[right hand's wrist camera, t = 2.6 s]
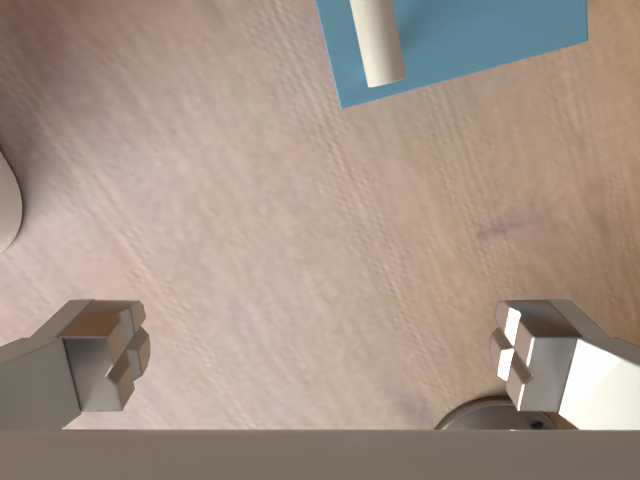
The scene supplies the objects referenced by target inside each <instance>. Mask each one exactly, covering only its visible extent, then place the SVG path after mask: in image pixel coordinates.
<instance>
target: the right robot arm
mask: <svg viewBox="0 0 640 480" xmlns="http://www.w3.org/2000/svg"><path fill="white" fill-rule="evenodd" d="M21 219H22V199H21V193H20V189H19V186H18V183H17V180H16V178H15V176H14V174H13V172H12V170H11V168H10V166H9V164H8V163H7V161H6V160H5V158H4V156H3V155H2V153H1V151H0V253H1V252H3V251H4V250H5V249H6V248H7V247H8V246H9V245H10V244H11V243H12V241H13V240H14V238H15V237H16V235H17V233H18V230H19V228H20V224H21ZM145 318H146V316H145V311H144V306H143V304H142V303H141V302H140V301H139V300H95V299H81V300H69V301H68V302H67V303H66V304H65V305H64V306H63V307H62V308H61V309H60V310H59V311H58V312H57V313H55V314H54V315H53V316H52V317H51V318H50V319H49V320H48V321H47V322H46V323H45V324H44V325H43V326H42V327H40V328H39V329H38V330H37V331H36V332H35V333H34V334H33V335H32V336H31V337H30V338H21V339H18V340H16V341H13V342H11V343H8V344H6V345H4V346H1V347H0V480H640V347H639V346H636V345H634V344H632V343H629V342H627V341H624V340H622V339H619V338H610V337H609V336H608V335H607V334H606V333H605V332H604V331H603V330H602V329H601V328H600V327H599V326H597V325H596V324H595V323H594V322H593V321H592V320H591V319H590V318H589V317H588V316H587V315H586V314H585V313H584V312H583V311H581V310H580V309H579V308H578V307H577V306H576V305H575V304H574V303H573V302H572V301H570V300H567V299H555V300H509V301H499V302H498V304H497V307H496V310H495V315H494V318H495V320H496V321H497V323H498V325H499V327H498V328H497V329H496V330H495V331H494V332H493V333H492V334H491V340H490V358H491V362H492V365H493V368H494V370H495V372H496V374H497V375H498V376H499V377H501V378H503V379H504V380H506V381H507V382H506V388H505V389H506V391H507V393H508V395H509V396H510V398H511V400H512V402H513V403H514V405H515V407H516V408H517V410H518V411H538V412H559V414H560V415H561V416H562V417H564V418H565V419H566V420H568V421H569V422H570V423H572V424H573V425H574V426H576V427H577V428H578V429H579V430H61V429H62V428H63V427H65V426H66V425H67V424H69V423H70V422H71V421H73V420H74V419H75V418H77V417H78V416H79V415H81V412H101V411H122V410H123V409H124V407H125V405H126V403H127V402H128V400H129V398H130V396H131V395H132V393H133V391H134V389H135V388H134V382H133V381H134V380H136V379H137V378H139V377H141V376H142V375H143V374H144V372H145V370H146V368H147V365H148V361H149V357H150V339H149V334H148V333H147V332H146V331H145V330H144V329H143V328H142V327H141V325H142V323H143V321H144V320H145Z"/></svg>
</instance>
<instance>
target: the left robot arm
mask: <svg viewBox="0 0 640 480" xmlns="http://www.w3.org/2000/svg"><path fill="white" fill-rule="evenodd" d="M434 430H557V429H556V427H555V426H554V424H553V423H552V421H551V420H550V418H549V417H548V416H547V414H546V413H545V412H538V411H518V410H517V408H516V407H515V405H514V403H513V402H512V400H511V398H510V397H489V398H484V399H479V400H476V401H473V402H470V403H467V404H465V405H463V406H461V407H459V408H457V409H456V410H454V411H452V412H451V413H450V414H448V415H447V416H446V417H445V418H444V419H443V420H442V421H441V422H440V423H439V424H438V425H437V426H436V428H435V429H434Z"/></svg>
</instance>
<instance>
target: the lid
mask: <svg viewBox="0 0 640 480" xmlns="http://www.w3.org/2000/svg"><path fill="white" fill-rule="evenodd" d="M315 4H316V8H317V13H318V17H319V21H320V25H321V29H322V34H323V38H324V42H325V46H326V50H327V55H328V59H329V63H330V67H331V71H332V76H333V80H334V84H335V88H336V92H337V97H338V101H339V105H340V108H341V109H344V108H347V107H351V106H355V105H358V104H362V103H366V102H369V101H373V100H377V99H380V98H384V97H388V96H391V95H395V94H398V93H402V92H406V91H409V90H413V89H417V88H420V87H424V86H428V85H431V84H435V83H438V82H442V81H446V80H449V79H453V78H457V77H460V76H464V75H468V74H471V73H475V72H478V71H482V70H486V69H489V68H493V67H497V66H500V65H504V64H508V63H511V62H515V61H519V60H522V59H526V58H529V57H533V56H537V55H540V54H544V53H548V52H551V51H555V50H559V49H562V48H566V47H569V46H573V45H577V44H580V43H584V42H587V41H588V29H587V1H586V0H315Z"/></svg>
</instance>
